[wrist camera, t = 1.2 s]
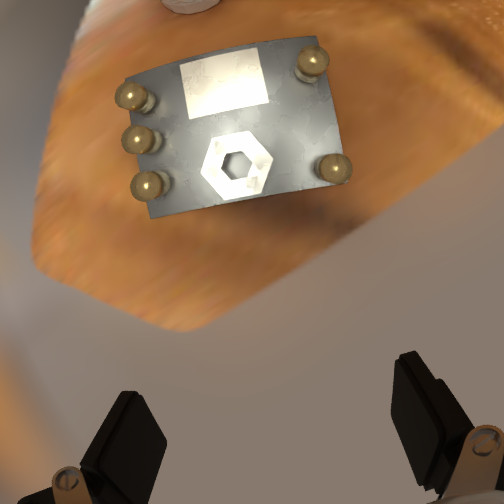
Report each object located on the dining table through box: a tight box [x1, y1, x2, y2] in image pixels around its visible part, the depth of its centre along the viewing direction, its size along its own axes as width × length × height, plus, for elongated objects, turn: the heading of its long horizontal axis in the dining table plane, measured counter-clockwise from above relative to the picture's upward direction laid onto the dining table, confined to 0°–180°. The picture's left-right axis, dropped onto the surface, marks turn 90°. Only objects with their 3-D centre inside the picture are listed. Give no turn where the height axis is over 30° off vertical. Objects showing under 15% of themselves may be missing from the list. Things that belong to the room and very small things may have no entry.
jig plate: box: [115, 36, 352, 219], centre depth 23 cm, size 14×18×4 cm
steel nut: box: [201, 131, 273, 200], centre depth 24 cm, size 5×6×2 cm
